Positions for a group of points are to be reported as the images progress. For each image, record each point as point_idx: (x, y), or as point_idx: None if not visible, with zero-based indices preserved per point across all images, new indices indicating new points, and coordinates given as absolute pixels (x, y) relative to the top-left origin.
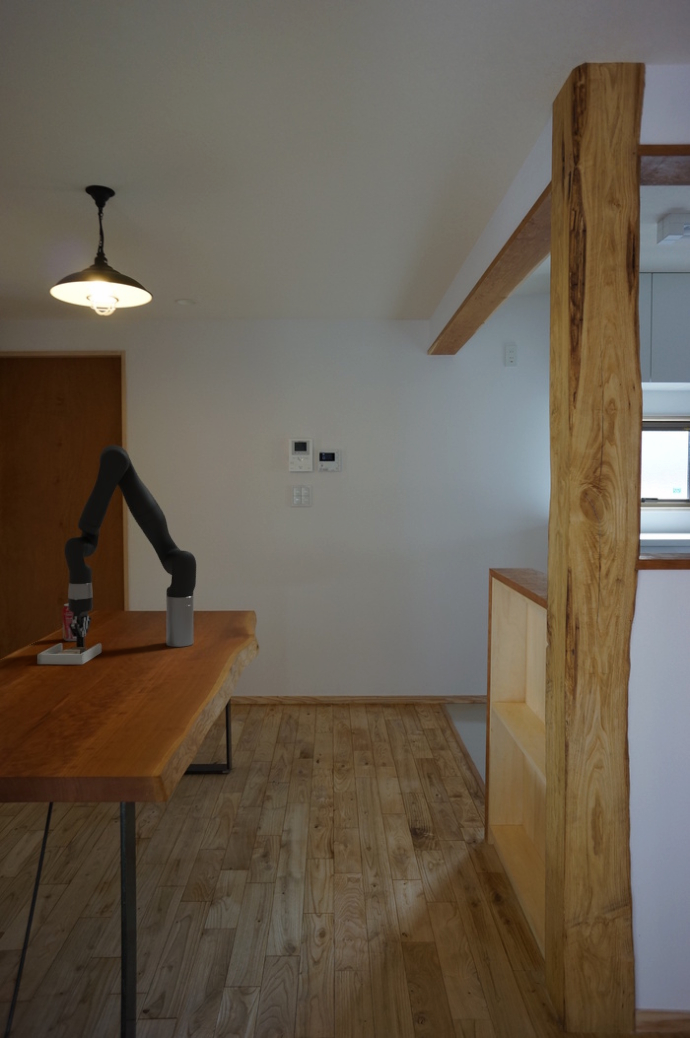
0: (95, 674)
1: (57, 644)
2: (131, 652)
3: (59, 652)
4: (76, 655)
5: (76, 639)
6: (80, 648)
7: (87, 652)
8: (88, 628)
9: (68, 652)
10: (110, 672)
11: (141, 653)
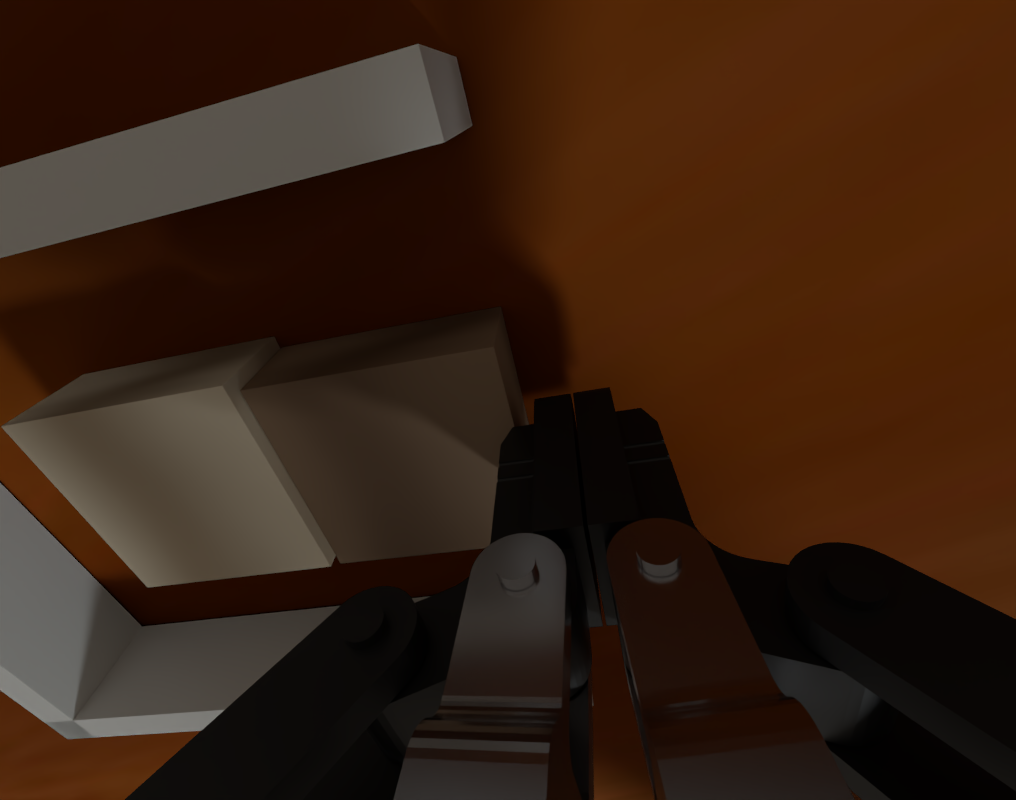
0: (39, 765)
1: (256, 121)
2: (632, 754)
3: (43, 423)
4: (31, 698)
5: (535, 492)
6: (445, 509)
7: (187, 723)
8: (969, 783)
9: (134, 524)
10: (127, 795)
11: (611, 795)
